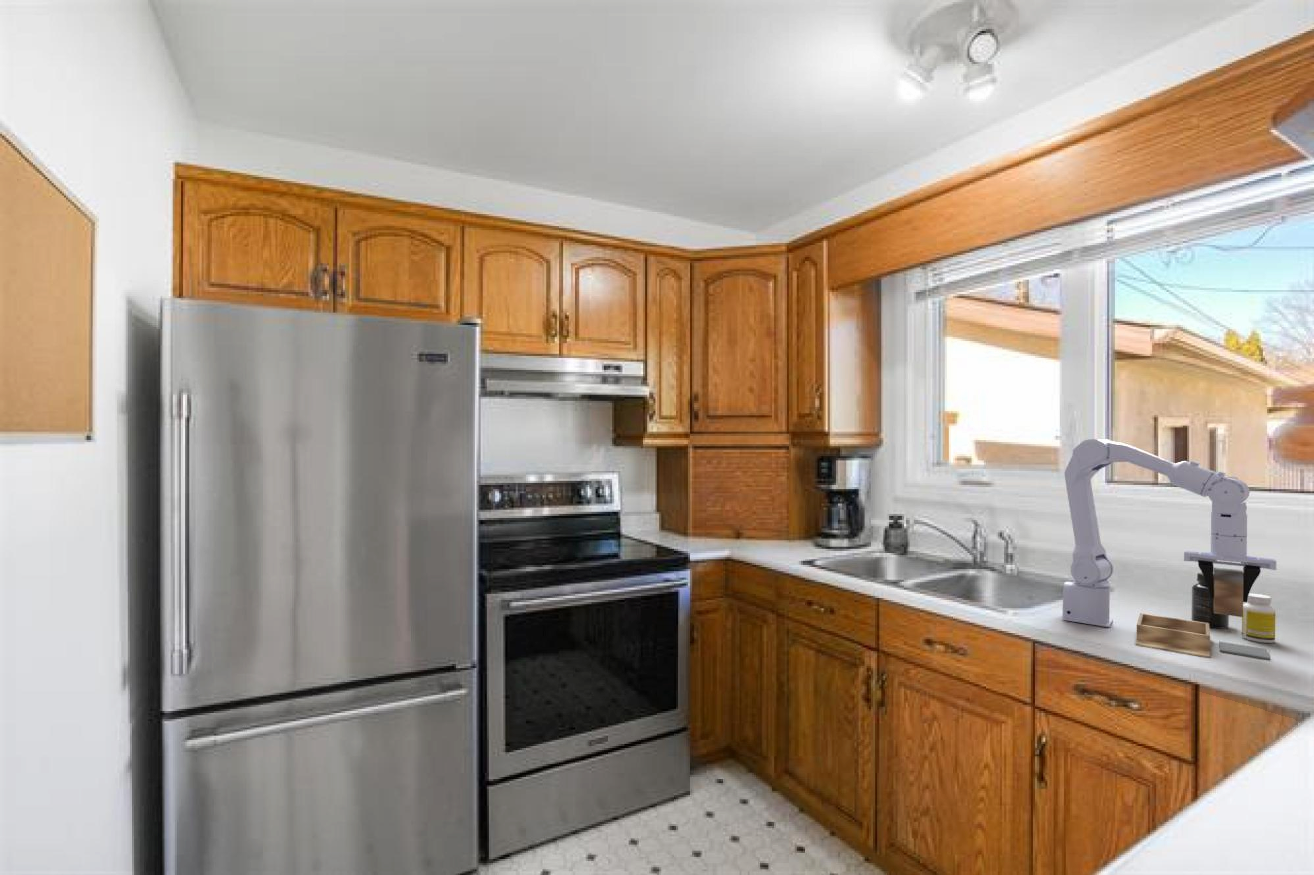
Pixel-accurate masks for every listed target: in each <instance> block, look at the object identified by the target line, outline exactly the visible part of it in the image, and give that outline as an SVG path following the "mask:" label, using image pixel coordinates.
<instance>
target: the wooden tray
mask: <svg viewBox="0 0 1314 875" xmlns="http://www.w3.org/2000/svg"><path fill="white" fill-rule="evenodd" d="M1134 644H1135V646H1138V647H1146V648H1151V649H1156V650H1163V651H1167V652H1168V651H1169V652H1175V653H1180V654H1187V655H1190V656H1191V655H1192V656H1196V657H1197V656H1198V657H1203V658H1211V630H1210V627H1209V623H1204V622H1197V621H1192V620H1187V619H1182V618H1177V617H1176V618H1175V617H1168V616H1162V615H1156V614H1155V615H1154V614H1149V613H1144V612H1143V613H1139V617H1138V619H1137V622H1136V640H1135V643H1134Z"/></svg>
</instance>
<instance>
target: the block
mask: <svg viewBox="0 0 1314 875" xmlns="http://www.w3.org/2000/svg"><path fill="white" fill-rule="evenodd" d="M1213 568H1214V573H1213V574H1214V613H1216V614H1223V615H1229V616H1232V617H1238V618H1239V617H1240V618H1242V617H1243V604H1244V602H1243V569H1242V570H1241V569H1235V568H1234V569H1233V568H1224V567H1223V568H1222V567H1214V566H1213Z"/></svg>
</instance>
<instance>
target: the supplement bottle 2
mask: <svg viewBox="0 0 1314 875" xmlns="http://www.w3.org/2000/svg"><path fill="white" fill-rule="evenodd" d="M1271 604H1272V597H1271V596H1270V595H1265V594H1260V593H1249V595H1248V599H1247V602H1244V603H1243V617H1241V637H1242V638H1243V639H1245V640H1247V641H1248V640H1249V641H1252V642H1255V643H1263V644H1266V643H1267V644H1272V643H1275V642H1276V641H1275V640H1276V609H1275V608H1274V607H1272V605H1271Z"/></svg>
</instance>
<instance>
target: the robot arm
mask: <svg viewBox="0 0 1314 875" xmlns="http://www.w3.org/2000/svg"><path fill="white" fill-rule="evenodd" d="M1113 463H1129V464H1133V465H1135V466H1138V467H1141V468H1143V469H1147V470H1149V471H1153V472H1155V473H1159V474H1160V475H1163V476H1166V477H1167V479H1168V480H1169V482H1170V484H1171V485H1173V486H1176V487H1178V488H1181V489H1184V490H1186V491H1189V492H1191V493H1194V494H1196V495H1198V496H1201V497H1202V498H1203V497H1204V498H1206V497H1208V499H1209V500H1210V501H1211V512H1210V552H1203V551H1187V550H1184V551H1183V561H1184V562H1196V563H1197V564H1198V565H1197V566H1198V568H1199V570H1200V573H1203V575H1204V578H1205V580H1206V582H1207V585H1208V588H1209V592H1210V598H1214V585H1213V574H1214V564H1215V565H1225V566H1236V567H1237V566H1238V567H1243V568H1242V571H1243V603H1248V601H1247V599H1248V595H1249V594H1250V593H1251V592H1250V591H1251V590H1252V587H1253V586H1254V584H1255V582H1256V580H1257V578H1259V576H1260V574H1261V572H1262V570H1261V569H1267V570H1269V571H1270V570H1272V571H1276V570H1277V560H1276V559H1275V558H1266V557H1265V558H1264V557H1258V556H1256V557H1255V556H1249V555H1248V551H1247V549H1248V537H1247V536H1248V514H1247V502H1246V501H1247V500H1248V498H1249V496H1250V492H1251V491H1250V488H1249V486H1248V485H1247V483H1246V482H1244V481H1243V480H1241V479H1239V478H1238V477H1235V476H1228V477H1227V476H1226V473H1225V472H1223V471H1218V472H1216V471H1214V470H1212V469H1208V468H1206V467H1203V466H1200V462H1197V461H1195V460H1191V461H1190V462H1189V461H1187V460H1182V461H1179V462H1176V463H1175V462H1172V461H1170V460H1167V459H1165V458H1162V457H1160V456H1158V455H1155V454H1152V453H1150V452H1147V451H1145V450H1143V449H1140V448H1138V447H1135V446H1134V445H1133V446H1132V445H1130V444H1126V443H1123V442H1118V441H1113V440H1111V439H1109V438H1101V439H1097V438H1087V439H1085V440H1083V441H1082V442H1080V443H1079V444H1078V445H1076V446H1075V448H1073V449H1072V455H1071V457H1070V459H1069V462H1068V463H1067V466H1066V468H1065V469H1064V480H1065V487H1066V493H1067V499H1068V506H1069V512H1070V518H1071V519H1070V520H1071V525H1072V529H1073V530H1072V531H1073V537H1074V543H1075V546H1074V549H1073V551H1072V563H1071V565H1070V575H1071V577H1072V579H1073V582H1072V581H1064V583H1063V588H1062V589H1063V591H1062V606H1061V607H1062V609H1061V610H1062V617H1061V619H1062V620H1063V621H1069V622H1073V623H1078V624H1079V623H1080V624H1086V625H1091V626H1099V627H1103V628H1104V627H1105V628H1110V627H1111V625H1112V624H1113V618H1111V617H1110V611H1111V610H1110V606H1111V605H1110V602H1111V598H1110V597H1111V594H1110V593H1111V591H1110V589H1111V585H1110V582H1109V579H1110V578H1111V577H1112V576H1113V574H1114V566H1113V564H1112V562H1111V561H1110V559H1109V557H1108V556H1107V552H1106V549H1105V548H1104V546H1103V544H1102V542H1101V538H1100V537H1101V536H1100V531H1099V530H1100V529H1099V525H1098V518H1097V511H1096V506H1095V499H1094V495H1093V494H1094V493H1093V487H1092V481H1091V479H1092V478H1093V477H1094V476H1095V475H1096V474H1097V473H1098V472H1099V471H1100V470H1102V469H1103V468H1105V467H1107V466H1109V465H1111V464H1113Z"/></svg>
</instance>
